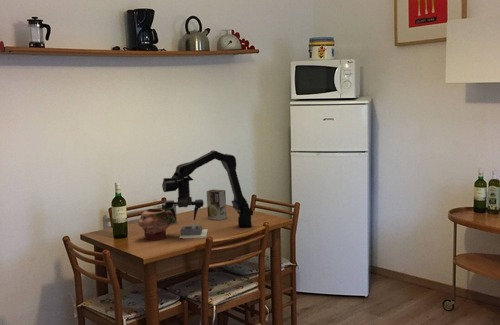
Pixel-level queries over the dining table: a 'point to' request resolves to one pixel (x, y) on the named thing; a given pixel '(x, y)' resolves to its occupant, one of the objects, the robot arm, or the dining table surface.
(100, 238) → the dining table surface
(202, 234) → the post stand
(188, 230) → the grey square frame
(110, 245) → the dining table surface
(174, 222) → the canned tomato
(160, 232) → the decorative planter
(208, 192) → the coffee box
